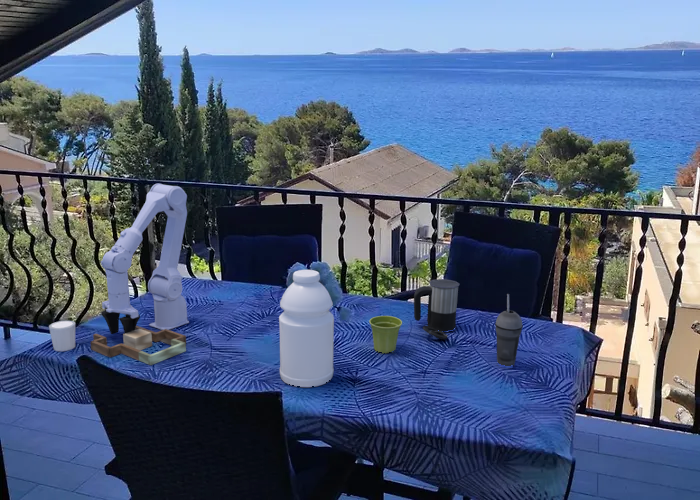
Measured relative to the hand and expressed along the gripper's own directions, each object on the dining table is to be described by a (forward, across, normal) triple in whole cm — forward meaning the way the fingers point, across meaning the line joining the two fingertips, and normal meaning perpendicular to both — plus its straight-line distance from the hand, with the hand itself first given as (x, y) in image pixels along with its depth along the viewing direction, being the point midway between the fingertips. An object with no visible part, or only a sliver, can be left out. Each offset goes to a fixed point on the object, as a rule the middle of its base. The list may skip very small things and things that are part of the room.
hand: (122, 335), depth 184 cm
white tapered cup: (+2, -9, -13) cm, 16 cm away
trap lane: (+1, +7, 0) cm, 7 cm away
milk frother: (+2, +72, +63) cm, 95 cm away
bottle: (+2, +58, +14) cm, 60 cm away
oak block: (+1, +8, 0) cm, 8 cm away
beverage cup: (+2, +97, +52) cm, 110 cm away
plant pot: (+2, +65, +41) cm, 77 cm away
